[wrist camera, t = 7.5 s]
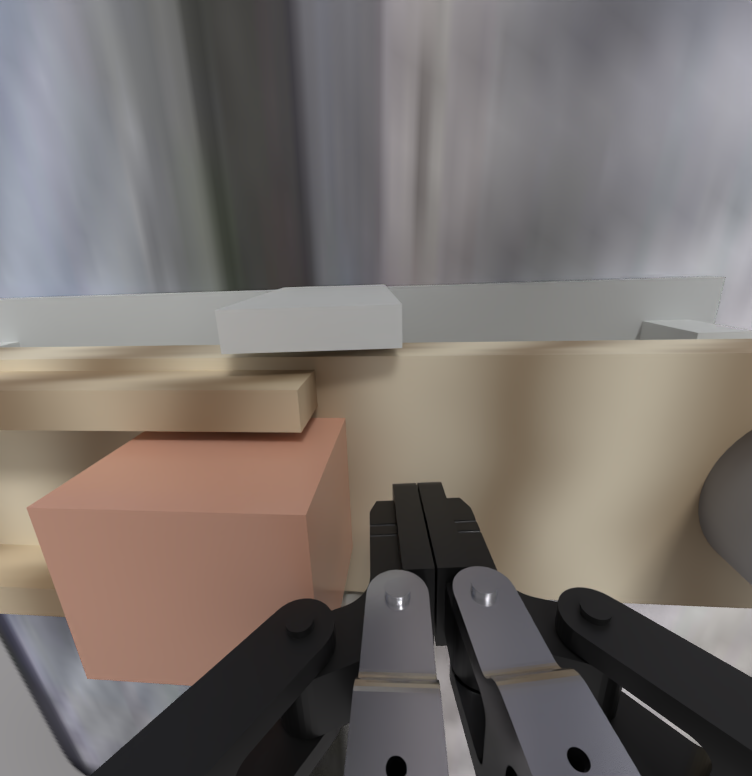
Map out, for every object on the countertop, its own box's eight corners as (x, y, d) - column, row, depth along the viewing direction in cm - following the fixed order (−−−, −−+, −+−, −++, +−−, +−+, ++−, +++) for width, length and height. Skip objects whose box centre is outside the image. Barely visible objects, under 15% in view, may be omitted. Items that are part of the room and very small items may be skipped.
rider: (345, 417, 12) (306, 515, 8) (352, 547, 14) (323, 694, 9) (166, 417, 13) (26, 507, 8) (192, 542, 14) (87, 678, 10)
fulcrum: (708, 274, 20) (996, 285, 11) (661, 484, 24) (845, 622, 15) (-55, 297, 19) (-430, 330, 10) (22, 510, 23) (-201, 673, 14)
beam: (892, 336, 12) (1462, 428, 6) (803, 568, 15) (1113, 811, 8) (-126, 348, 15) (-534, 416, 9) (-43, 539, 18) (-304, 700, 11)
